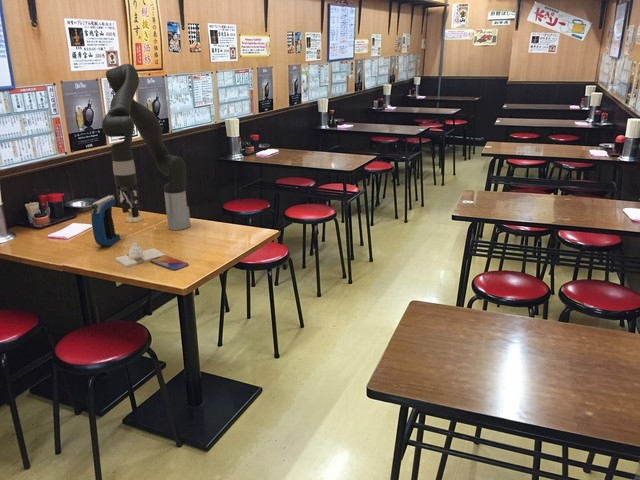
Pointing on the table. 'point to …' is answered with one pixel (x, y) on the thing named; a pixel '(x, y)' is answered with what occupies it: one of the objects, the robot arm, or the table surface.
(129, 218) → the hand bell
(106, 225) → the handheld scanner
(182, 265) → the smartphone
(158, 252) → the white panel
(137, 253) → the garlic bulb
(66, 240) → the table surface
